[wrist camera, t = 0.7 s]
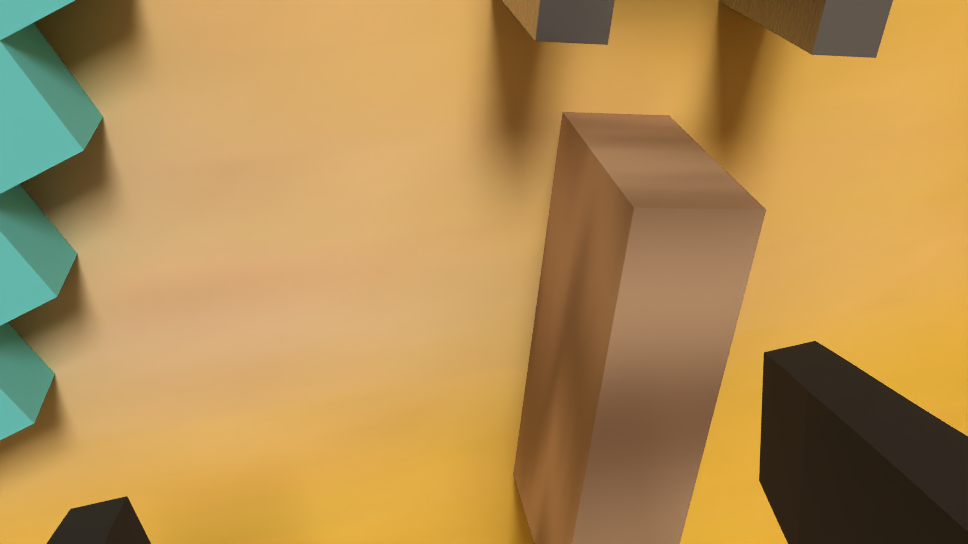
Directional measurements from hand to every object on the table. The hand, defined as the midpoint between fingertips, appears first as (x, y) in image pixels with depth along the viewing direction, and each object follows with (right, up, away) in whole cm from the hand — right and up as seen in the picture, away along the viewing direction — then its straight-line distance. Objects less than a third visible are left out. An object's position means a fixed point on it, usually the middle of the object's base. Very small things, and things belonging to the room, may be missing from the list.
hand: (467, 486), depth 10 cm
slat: (+3, +2, +12) cm, 12 cm away
